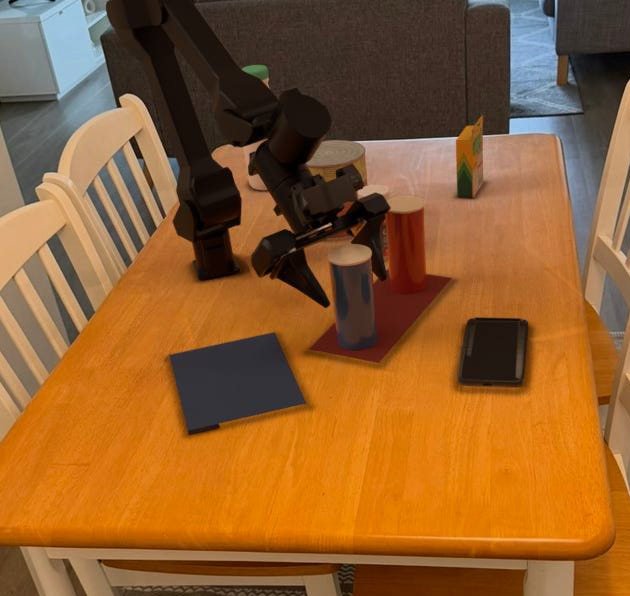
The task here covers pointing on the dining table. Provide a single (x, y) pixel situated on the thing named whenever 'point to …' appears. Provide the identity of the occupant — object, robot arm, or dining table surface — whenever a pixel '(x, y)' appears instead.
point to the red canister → (406, 244)
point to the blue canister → (353, 296)
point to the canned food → (338, 165)
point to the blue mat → (234, 381)
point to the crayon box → (470, 160)
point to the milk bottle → (255, 180)
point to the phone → (493, 352)
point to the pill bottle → (383, 235)
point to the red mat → (386, 319)
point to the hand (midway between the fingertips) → (357, 292)
